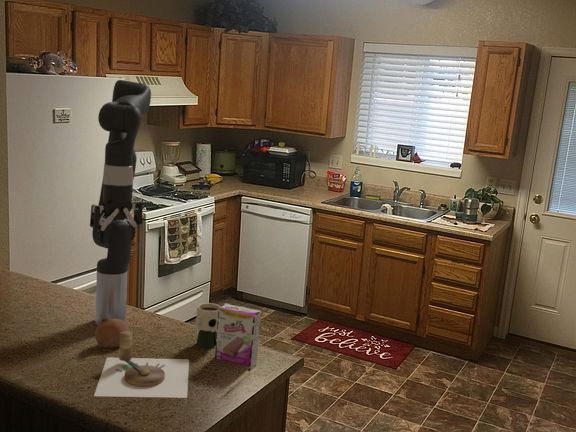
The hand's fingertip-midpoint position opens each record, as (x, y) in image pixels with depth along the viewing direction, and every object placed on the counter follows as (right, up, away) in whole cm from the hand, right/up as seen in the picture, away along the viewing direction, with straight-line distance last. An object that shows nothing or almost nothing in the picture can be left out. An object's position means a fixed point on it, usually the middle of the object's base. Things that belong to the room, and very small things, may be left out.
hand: (116, 242), depth 171 cm
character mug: (+22, -32, +18) cm, 43 cm away
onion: (-5, -31, +13) cm, 34 cm away
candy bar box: (+31, -35, +9) cm, 48 cm away
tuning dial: (+7, -34, -5) cm, 35 cm away
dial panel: (+9, -36, -7) cm, 38 cm away
